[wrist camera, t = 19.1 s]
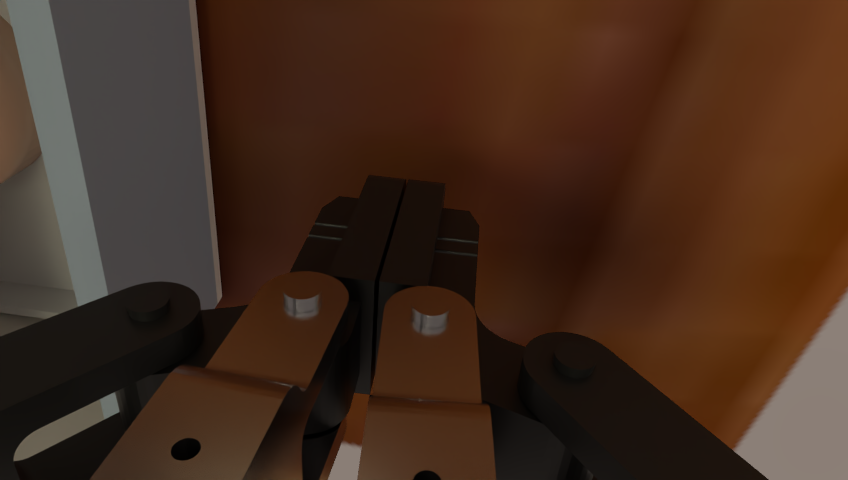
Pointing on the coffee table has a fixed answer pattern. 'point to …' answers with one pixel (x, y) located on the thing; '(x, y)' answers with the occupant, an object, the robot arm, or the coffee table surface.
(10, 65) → the tan dome knob
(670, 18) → the coffee table surface
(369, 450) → the robot arm
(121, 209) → the tray
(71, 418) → the beige shelf
